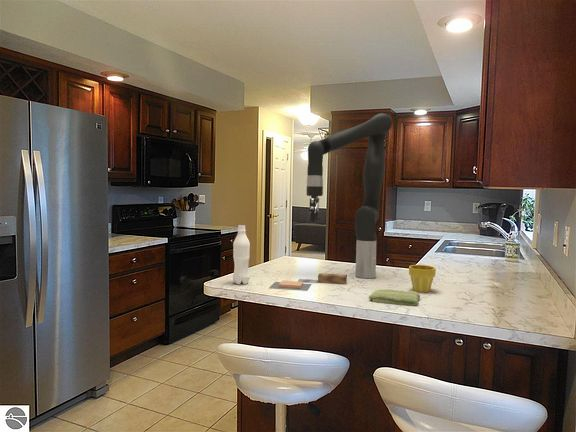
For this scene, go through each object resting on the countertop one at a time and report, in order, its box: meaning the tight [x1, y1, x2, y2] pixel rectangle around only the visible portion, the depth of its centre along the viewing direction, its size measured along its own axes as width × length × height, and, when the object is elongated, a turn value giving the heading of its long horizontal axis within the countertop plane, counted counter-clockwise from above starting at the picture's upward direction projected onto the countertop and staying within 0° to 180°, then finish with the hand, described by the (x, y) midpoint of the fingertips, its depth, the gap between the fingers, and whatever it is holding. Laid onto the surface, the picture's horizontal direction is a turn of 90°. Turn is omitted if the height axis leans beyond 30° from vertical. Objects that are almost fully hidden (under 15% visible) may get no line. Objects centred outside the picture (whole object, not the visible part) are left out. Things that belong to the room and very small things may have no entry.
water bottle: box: [232, 224, 251, 285], centre depth 180 cm, size 7×7×25 cm
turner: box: [297, 273, 348, 285], centre depth 183 cm, size 21×6×4 cm, turn 79°
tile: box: [279, 280, 303, 289], centre depth 175 cm, size 1×7×9 cm
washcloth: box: [368, 289, 421, 307], centre depth 158 cm, size 13×18×3 cm
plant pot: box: [408, 264, 437, 293], centre depth 173 cm, size 10×10×10 cm
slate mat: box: [268, 281, 313, 292], centre depth 175 cm, size 16×12×1 cm
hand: (314, 220), depth 195 cm, fingers open, 8 cm apart
